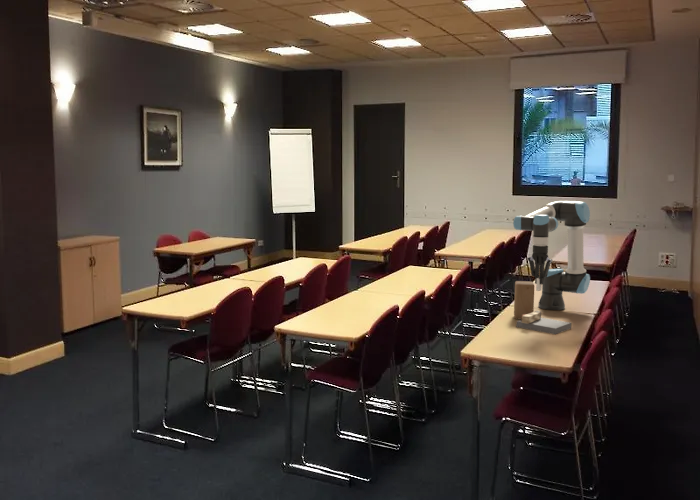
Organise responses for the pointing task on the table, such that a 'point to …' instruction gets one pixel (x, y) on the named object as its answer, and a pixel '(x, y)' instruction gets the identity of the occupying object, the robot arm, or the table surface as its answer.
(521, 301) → the wooden block
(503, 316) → the table surface
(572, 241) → the robot arm
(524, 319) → the folding leg
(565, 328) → the stool seat
